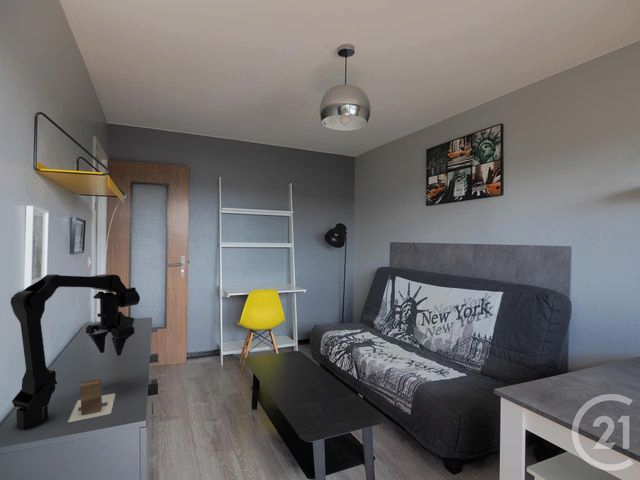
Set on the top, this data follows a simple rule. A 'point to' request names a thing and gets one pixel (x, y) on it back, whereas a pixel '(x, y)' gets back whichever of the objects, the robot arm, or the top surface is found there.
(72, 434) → the top surface
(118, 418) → the top surface
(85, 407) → the walnut block
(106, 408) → the mat
